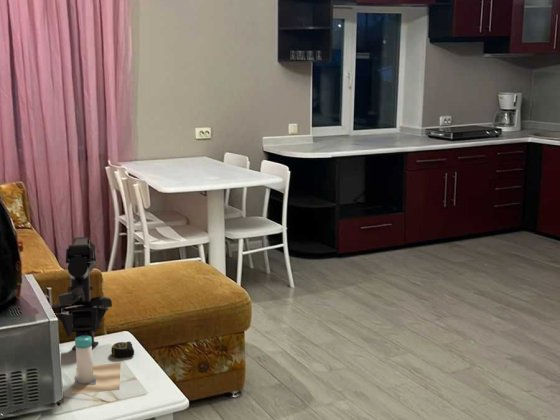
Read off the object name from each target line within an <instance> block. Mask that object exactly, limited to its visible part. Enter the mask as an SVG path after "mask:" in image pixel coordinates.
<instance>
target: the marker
mask: <svg viewBox="0 0 560 420" xmlns="http://www.w3.org/2000/svg"><path fill="white" fill-rule="evenodd" d="M74 344H75V345H74V346H76V350H75V355H76V356H75V357H76V369H77V375H78V382H79V383H81V384H87V383H90V382H92V381H93V365H94V364H93V363H94V362H93V349H92V337H91V336H87V335H83V336H79V337H76V336H75V338H74Z"/></svg>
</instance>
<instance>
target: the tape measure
mask: <svg viewBox="0 0 560 420" xmlns="http://www.w3.org/2000/svg"><path fill="white" fill-rule="evenodd" d="M110 351H111V355H112V356H113V357H114V358H116V359H126V358H131V357H134V356H135V349H134V347H133V343H132V342H131V341H126V342H125V341H119V342H116V343H113V345H112V346H111V350H110Z"/></svg>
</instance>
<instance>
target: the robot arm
mask: <svg viewBox="0 0 560 420" xmlns="http://www.w3.org/2000/svg"><path fill="white" fill-rule="evenodd" d="M73 242H74V243H72V244H68V248H65V264H66V265H68V266H67V272H68V274H69V278H70V286H68V287H67V292H64V293H62V294H60V295H57V300H58V303H59V304H53V305H52V306H51V307H52V309H53V311H54V313H55V315H56V317H55V318H58V320H59V321H60V322H61V325H62V326H63V329H64V330H65V331H64V332H65V334H66V335H67V337H68V338H71V337H72V333H75V338H76V337H79V336H83V335H87V336H91V337H92V350H93V349H95V348H96V347H97V346H98V345H99V341H95V334H96V333H97V332H98V330H99V329H101V328H100V327H101V326H100V325H101V322H102V321H103V318H104V316H105V314H106V312H107V311H109V308H112V307H113V303H112V302H113V301H112V300H111V298H110V297H106V296H96V297H91V291H93V290H94V289H93V286H91V280H90V279H91V278H90V277H91V274H90V273H91V272H92V271H93V270H94V269H95V262H97V251H96V249H97V248H96V245H95V244H93V243H92V242H91V240H90V237H88V236H82V237H81V236H80V237H75V238H73ZM71 350H75V351H76V346H75V345H73V346H72V347H71Z"/></svg>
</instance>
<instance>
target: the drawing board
mask: <svg viewBox="0 0 560 420" xmlns="http://www.w3.org/2000/svg"><path fill="white" fill-rule="evenodd" d="M121 364H122V363H121V362H112V363H110V362H109V363H99V364H97V363H96V364H93V381H92V382H90V383H87V384H81V383H79V382H78V375H77V368H76V370H75V376H74V381H73V386H72V391H71V394H73V395H74V394H84V393H85V394H86V393H99V392H107V391H119V390H120V385H121V366H122V365H121Z"/></svg>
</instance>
